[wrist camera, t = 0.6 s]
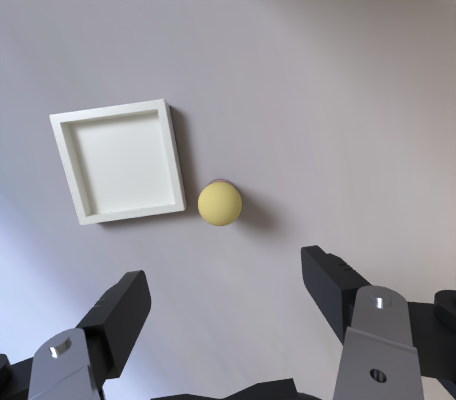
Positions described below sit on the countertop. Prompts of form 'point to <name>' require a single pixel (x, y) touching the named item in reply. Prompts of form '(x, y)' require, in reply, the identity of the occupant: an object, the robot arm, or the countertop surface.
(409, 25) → the countertop surface
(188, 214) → the countertop surface
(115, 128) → the tray
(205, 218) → the ball
